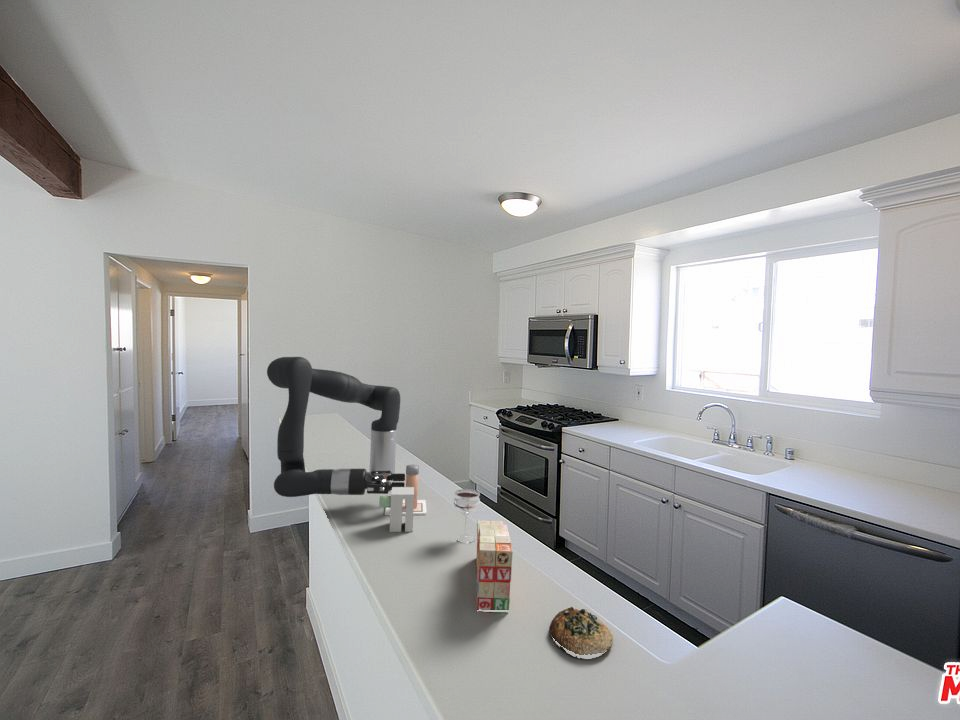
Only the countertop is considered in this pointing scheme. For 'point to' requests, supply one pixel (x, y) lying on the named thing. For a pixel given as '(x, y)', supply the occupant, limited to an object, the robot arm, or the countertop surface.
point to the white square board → (418, 511)
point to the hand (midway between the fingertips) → (404, 481)
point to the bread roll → (580, 632)
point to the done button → (385, 502)
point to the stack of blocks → (493, 565)
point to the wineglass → (466, 508)
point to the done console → (396, 508)
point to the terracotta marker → (412, 481)
